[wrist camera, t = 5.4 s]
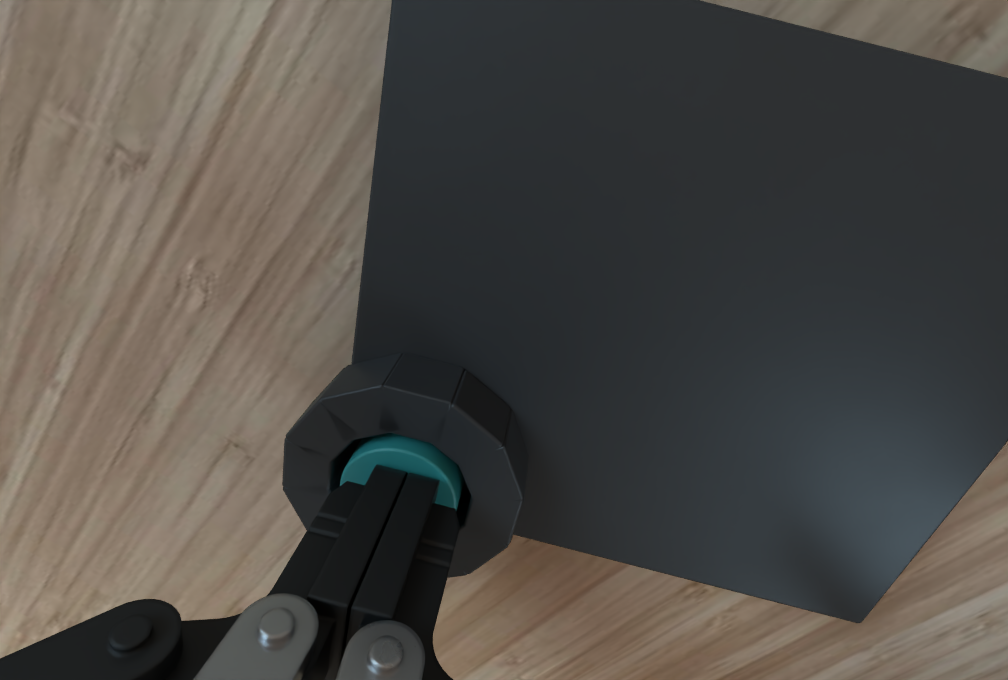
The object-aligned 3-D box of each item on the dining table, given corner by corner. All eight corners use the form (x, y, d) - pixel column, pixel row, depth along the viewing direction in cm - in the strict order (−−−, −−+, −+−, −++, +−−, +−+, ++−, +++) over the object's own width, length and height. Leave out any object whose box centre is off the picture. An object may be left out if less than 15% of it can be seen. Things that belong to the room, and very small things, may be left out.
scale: (331, 463, 17) (277, 548, 14) (385, -62, 11) (310, -120, 8) (818, 588, 17) (874, 703, 14) (1147, 130, 11) (1382, 149, 8)
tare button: (356, 484, 15) (334, 526, 13) (368, 398, 13) (344, 435, 12) (457, 510, 15) (445, 555, 13) (478, 427, 13) (467, 467, 12)
